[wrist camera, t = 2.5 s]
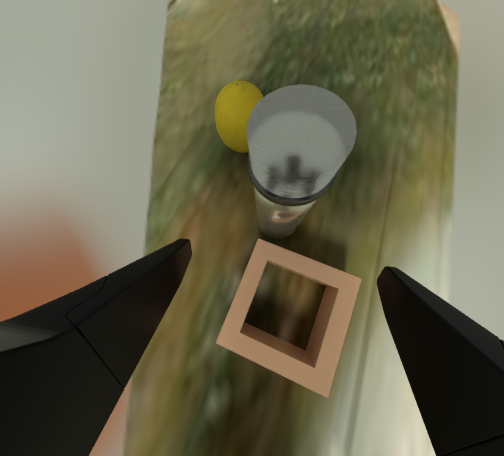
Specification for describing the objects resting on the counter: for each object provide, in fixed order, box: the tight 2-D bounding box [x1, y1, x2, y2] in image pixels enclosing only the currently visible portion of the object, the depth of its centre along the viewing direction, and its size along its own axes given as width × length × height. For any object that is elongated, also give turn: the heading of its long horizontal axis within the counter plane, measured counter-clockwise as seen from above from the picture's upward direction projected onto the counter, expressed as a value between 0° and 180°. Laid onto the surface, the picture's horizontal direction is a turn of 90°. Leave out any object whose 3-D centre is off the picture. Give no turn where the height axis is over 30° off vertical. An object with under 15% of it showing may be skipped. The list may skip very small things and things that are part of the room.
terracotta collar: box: [216, 238, 362, 398], centre depth 18 cm, size 9×9×4 cm
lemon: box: [215, 80, 264, 153], centre depth 20 cm, size 6×6×8 cm
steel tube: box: [247, 85, 357, 239], centre depth 15 cm, size 5×5×14 cm
